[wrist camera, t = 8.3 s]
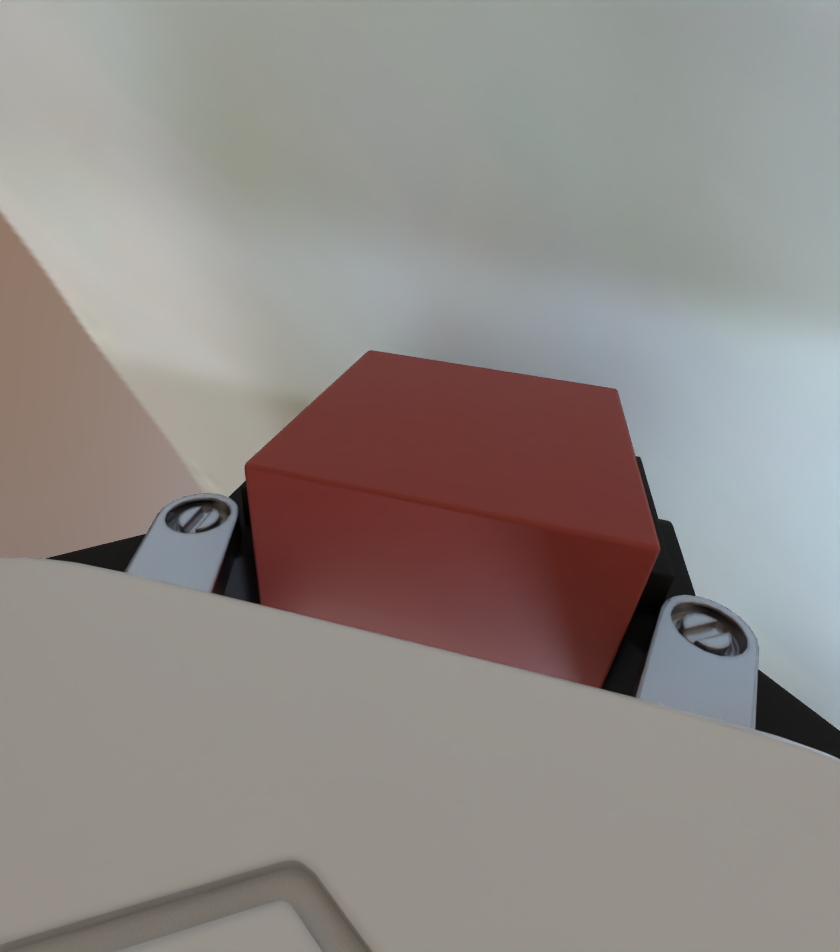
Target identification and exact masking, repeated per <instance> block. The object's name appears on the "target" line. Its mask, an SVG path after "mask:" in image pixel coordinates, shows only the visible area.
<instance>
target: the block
mask: <svg viewBox="0 0 840 952" xmlns="http://www.w3.org/2000/svg"><path fill="white" fill-rule="evenodd" d="M245 476H246V485H247V494H248V503H249V512H250V520H251V529H252V538H253V547H254V556H255V564H256V573H257V582H258V591H259V600H260V605H264V606H268V607H272V608H276V609H280V610H284V611H288V612H292V613H296V614H300V615H304V616H309V617H313V618H317V619H321V620H325V621H329V622H333V623H337V624H341V625H345V626H349V627H353V628H357V629H362V630H366V631H370V632H374V633H378V634H382V635H386V636H390V637H394V638H398V639H402V640H406V641H410V642H414V643H418V644H423V645H427V646H431V647H435V648H439V649H443V650H447V651H451V652H455V653H459V654H463V655H467V656H471V657H475V658H479V659H483V660H487V661H491V662H495V663H499V664H504V665H508V666H512V667H516V668H520V669H524V670H528V671H532V672H536V673H540V674H544V675H548V676H552V677H556V678H560V679H564V680H568V681H572V682H576V683H580V684H584V685H588V686H592V687H595V688H599V689H601V688H602V686H603V684H604V681H605V679H606V677H607V674H608V672H609V670H610V667H611V665H612V663H613V660H614V658H615V655H616V653H617V651H618V648H619V646H620V644H621V641H622V639H623V637H624V634H625V632H626V630H627V627H628V625H629V623H630V620H631V618H632V616H633V613H634V611H635V609H636V606H637V604H638V601H639V599H640V597H641V594H642V592H643V590H644V587H645V585H646V583H647V580H648V578H649V576H650V573H651V571H652V569H653V566H654V564H655V562H656V559H657V557H658V555H659V552H660V545H659V541H658V537H657V534H656V530H655V526H654V523H653V519H652V515H651V512H650V508H649V504H648V501H647V497H646V493H645V490H644V486H643V482H642V479H641V475H640V471H639V468H638V464H637V460H636V457H635V453H634V449H633V446H632V442H631V438H630V435H629V431H628V427H627V424H626V420H625V416H624V413H623V409H622V405H621V402H620V398H619V394H618V391H617V390H616V389H613V388H607V387H600V386H594V385H588V384H581V383H575V382H569V381H562V380H556V379H550V378H543V377H537V376H531V375H524V374H518V373H512V372H505V371H499V370H493V369H486V368H480V367H474V366H467V365H461V364H455V363H448V362H442V361H436V360H429V359H423V358H417V357H410V356H404V355H398V354H391V353H385V352H379V351H372V350H370V351H368V352H367V353H365V354H364V355H363V356H362V357H361V358H360V359H359V360H358V361H357V362H356V363H355V364H353V365H352V366H351V367H350V368H349V369H348V370H347V371H346V372H345V373H344V374H343V375H341V376H340V377H339V378H338V379H337V380H336V381H335V382H334V383H333V384H332V385H331V386H329V387H328V388H327V389H326V390H325V391H324V392H323V393H322V394H321V395H320V396H319V397H317V398H316V399H315V400H314V401H313V402H312V403H311V404H310V405H309V406H308V407H307V408H306V409H304V410H303V411H302V412H301V413H300V414H299V415H298V416H297V417H296V418H295V419H294V420H292V421H291V422H290V423H289V424H288V425H287V426H286V427H285V428H284V429H283V430H282V431H280V432H279V433H278V434H277V435H276V436H275V437H274V438H273V439H272V440H271V441H270V442H268V443H267V444H266V445H265V446H264V447H263V448H262V449H261V450H260V451H259V452H258V453H256V454H255V455H254V456H253V457H252V458H251V459H250V460H249V461H248V462H247V463H246V465H245Z"/></svg>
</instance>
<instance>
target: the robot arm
mask: <svg viewBox="0 0 840 952" xmlns="http://www.w3.org/2000/svg"><path fill="white" fill-rule="evenodd" d="M635 457H636V460H637V464H638V468H639V471H640V475H641V479H642V482H643V486H644V490H645V493H646V497H647V501H648V504H649V508H650V512H651V515H652V519H653V523H654V526H655V530H656V534H657V537H658V541H659V545H660V552H659V555H658V557H657V559H656V562H655V564H654V566H653V569H652V571H651V573H650V576H649V578H648V580H647V583H646V585H645V587H644V590H643V592H642V594H641V597H640V599H639V601H638V604H637V606H636V609H635V611H634V613H633V616H632V618H631V620H630V623H629V625H628V627H627V630H626V632H625V634H624V637H623V639H622V641H621V644H620V646H619V648H618V651H617V653H616V655H615V658H614V660H613V663H612V665H611V667H610V670H609V672H608V674H607V677H606V679H605V681H604V684H603V686H602V688H601V689H599V688H595V687H592V686H588V685H584V684H580V683H576V682H572V681H568V680H564V679H560V678H556V677H552V676H548V675H544V674H540V673H536V672H532V671H528V670H524V669H520V668H516V667H512V666H508V665H504V664H499V663H495V662H491V661H487V660H483V659H479V658H475V657H471V656H467V655H463V654H459V653H455V652H451V651H447V650H443V649H439V648H435V647H431V646H427V645H423V644H418V643H414V642H410V641H406V640H402V639H398V638H394V637H390V636H386V635H382V634H378V633H374V632H370V631H366V630H362V629H357V628H353V627H349V626H345V625H341V624H337V623H333V622H329V621H325V620H321V619H317V618H313V617H309V616H304V615H300V614H296V613H292V612H288V611H284V610H280V609H276V608H272V607H268V606H264V605H260V600H259V591H258V582H257V573H256V564H255V556H254V547H253V538H252V529H251V520H250V512H249V503H248V494H247V485H246V481H245V482H244V483H243V484H242V485H241V486H240V487H239V488H238V489H237V490H235V491H234V492H233V493H232V494H231V495H230V496H229V497H226V496H223V495H220V494H212V493H203V494H194V495H189V496H185V497H182V498H180V499H177V500H174V501H172V502H171V503H169V504H168V505H166V506H165V507H163V508H162V510H161V511H160V512H159V513H158V514H157V516H156V518H155V520H154V521H153V523H152V525H151V526H150V528H149V530H148V532H147V533H146V534H144V535H140V536H135V537H132V538H128V539H123V540H119V541H115V542H111V543H107V544H103V545H99V546H95V547H91V548H87V549H83V550H78V551H74V552H70V553H66V554H62V555H58V556H54V557H50V558H46V559H42V558H20V557H18V558H17V557H0V952H840V731H839V730H838V729H836V728H835V727H834V726H833V725H831V724H830V723H829V722H827V721H826V720H825V719H823V718H822V717H821V716H819V715H818V714H817V713H815V712H814V711H813V710H811V709H810V708H809V707H807V706H806V705H805V704H803V703H802V702H801V701H799V700H798V699H797V698H796V697H794V696H793V695H792V694H790V693H789V692H788V691H786V690H785V689H784V688H782V687H781V686H780V685H778V684H777V683H776V682H774V681H773V680H772V679H770V678H769V677H768V676H766V675H765V674H764V673H762V672H761V671H760V670H759V669H758V659H759V647H758V642H757V638H756V636H755V635H754V633H753V631H752V630H751V628H750V627H749V626H748V625H747V624H746V623H745V622H744V621H743V620H742V619H741V618H740V617H739V616H738V615H736V614H735V613H733V612H732V611H731V610H729V609H728V608H726V607H724V606H722V605H720V604H718V603H716V602H714V601H712V600H708V599H705V598H702V597H699V596H696V595H695V592H694V589H693V586H692V583H691V580H690V577H689V574H688V571H687V568H686V565H685V561H684V558H683V555H682V552H681V549H680V546H679V543H678V540H677V537H676V534H675V531H674V528H673V525H672V523H671V522H669V521H667V520H661V519H658V516H657V513H656V509H655V506H654V502H653V499H652V495H651V492H650V488H649V485H648V482H647V478H646V475H645V471H644V468H643V464H642V461H641V458H640V457H638V456H635Z"/></svg>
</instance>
